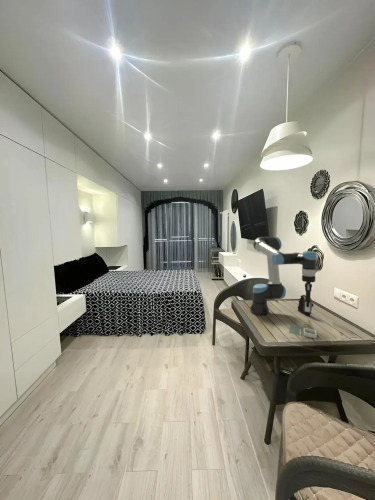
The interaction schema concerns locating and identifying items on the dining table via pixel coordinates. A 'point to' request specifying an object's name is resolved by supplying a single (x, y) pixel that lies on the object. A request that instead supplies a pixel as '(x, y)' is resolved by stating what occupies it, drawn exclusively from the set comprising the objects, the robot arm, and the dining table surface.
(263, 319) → the dining table surface
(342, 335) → the dining table surface
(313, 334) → the board
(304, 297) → the plug
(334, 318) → the dining table surface
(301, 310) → the black ridged module
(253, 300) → the robot arm
